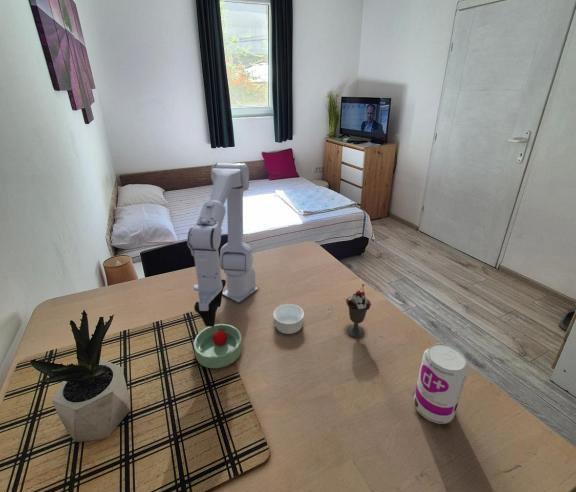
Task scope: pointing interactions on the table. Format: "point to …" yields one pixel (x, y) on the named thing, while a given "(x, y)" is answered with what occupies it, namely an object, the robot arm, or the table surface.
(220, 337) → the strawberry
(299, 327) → the ramekin
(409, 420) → the table surface
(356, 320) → the sundae
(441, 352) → the supplement can
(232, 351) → the bowl
